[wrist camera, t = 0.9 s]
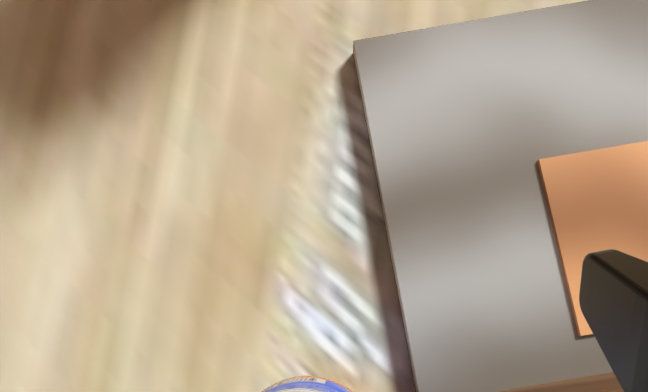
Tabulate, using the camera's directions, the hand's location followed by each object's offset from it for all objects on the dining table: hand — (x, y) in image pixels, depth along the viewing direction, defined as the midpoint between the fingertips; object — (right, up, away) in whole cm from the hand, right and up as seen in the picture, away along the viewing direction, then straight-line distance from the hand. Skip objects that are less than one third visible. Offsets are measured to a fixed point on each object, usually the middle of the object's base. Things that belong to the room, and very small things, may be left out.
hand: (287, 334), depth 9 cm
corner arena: (+10, +2, +13) cm, 17 cm away
